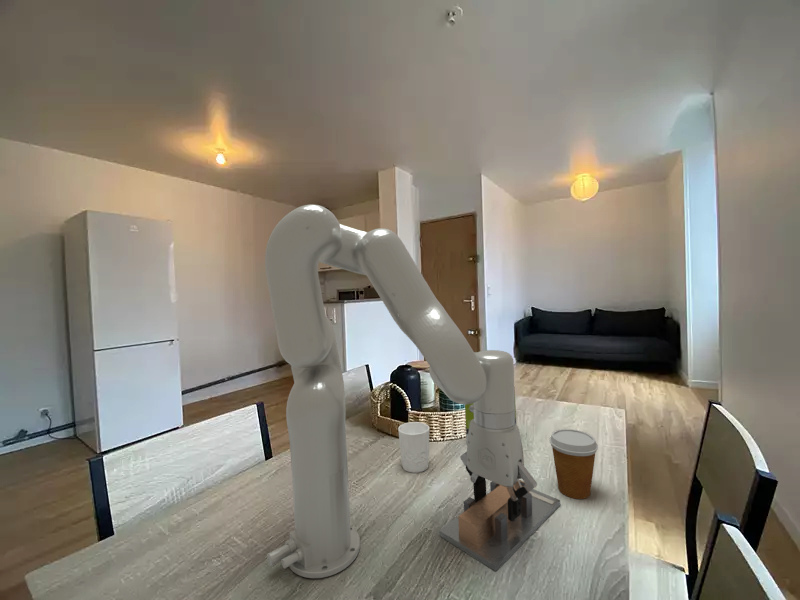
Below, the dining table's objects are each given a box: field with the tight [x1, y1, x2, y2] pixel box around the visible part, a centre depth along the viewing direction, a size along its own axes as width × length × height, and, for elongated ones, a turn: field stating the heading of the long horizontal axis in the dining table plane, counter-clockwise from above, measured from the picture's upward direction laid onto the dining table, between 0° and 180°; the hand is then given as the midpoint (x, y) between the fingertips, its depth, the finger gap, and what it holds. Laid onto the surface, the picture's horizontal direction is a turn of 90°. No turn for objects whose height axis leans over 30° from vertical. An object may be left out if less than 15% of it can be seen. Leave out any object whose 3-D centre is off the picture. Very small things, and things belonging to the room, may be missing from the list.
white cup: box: [397, 421, 430, 474], centre depth 92 cm, size 8×8×10 cm
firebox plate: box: [438, 481, 561, 572], centre depth 70 cm, size 24×12×5 cm, turn 133°
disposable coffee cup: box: [549, 428, 599, 500], centre depth 78 cm, size 10×10×12 cm
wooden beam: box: [457, 479, 529, 549], centre depth 69 cm, size 18×4×4 cm, turn 133°
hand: (496, 508), depth 69 cm, fingers open, 6 cm apart
